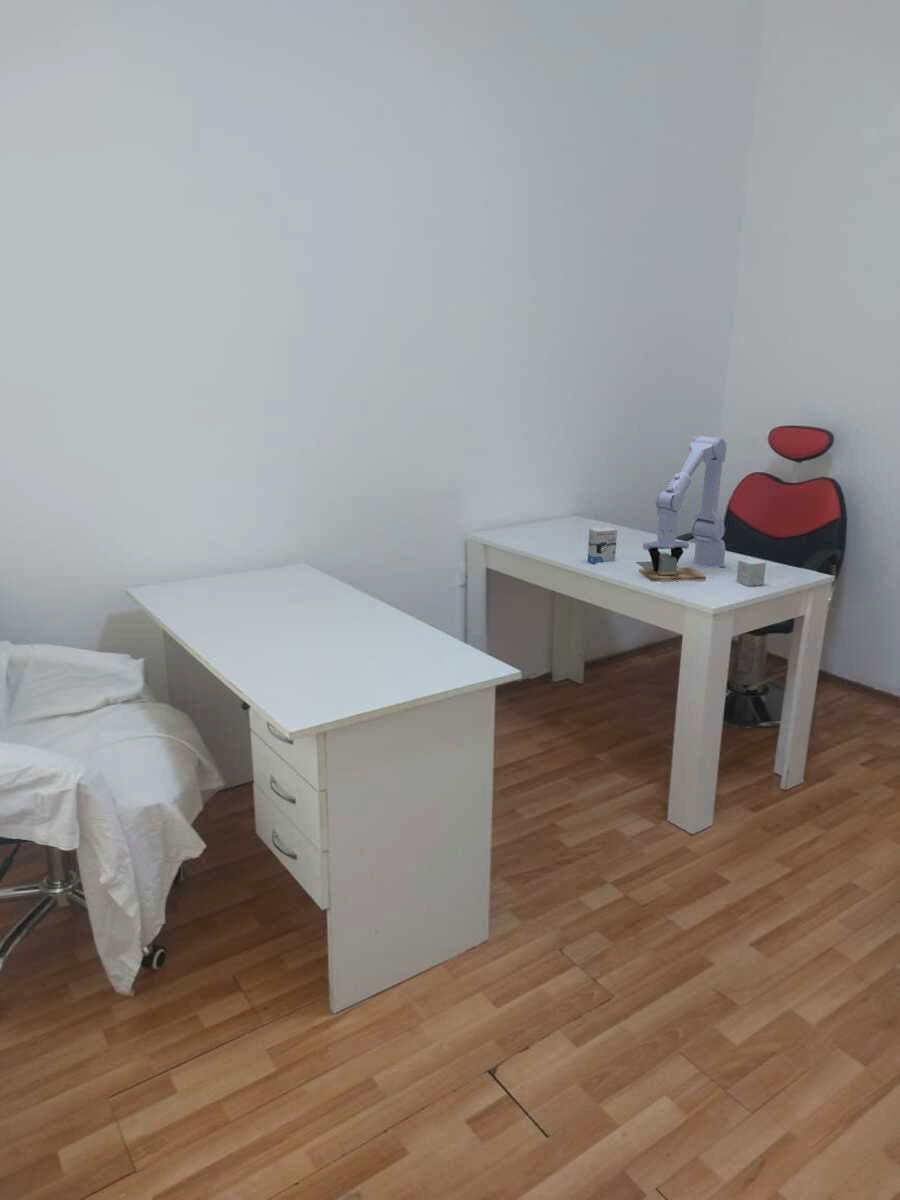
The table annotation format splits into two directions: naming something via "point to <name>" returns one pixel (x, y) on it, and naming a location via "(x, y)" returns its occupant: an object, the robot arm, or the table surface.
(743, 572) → the product box
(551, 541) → the table surface
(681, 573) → the oak board
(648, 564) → the rubber mat
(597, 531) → the ink box
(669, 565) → the block
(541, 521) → the table surface
